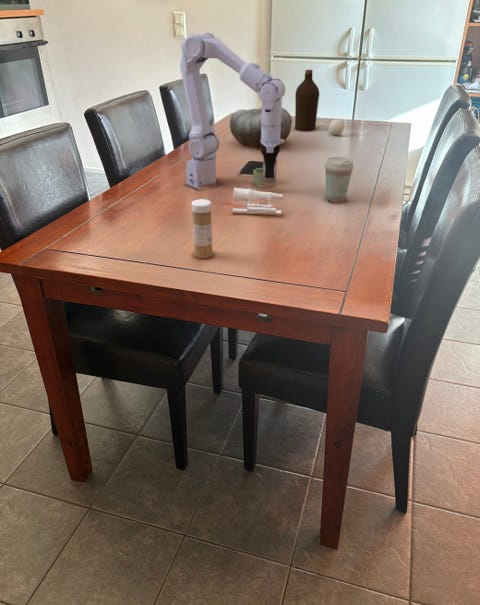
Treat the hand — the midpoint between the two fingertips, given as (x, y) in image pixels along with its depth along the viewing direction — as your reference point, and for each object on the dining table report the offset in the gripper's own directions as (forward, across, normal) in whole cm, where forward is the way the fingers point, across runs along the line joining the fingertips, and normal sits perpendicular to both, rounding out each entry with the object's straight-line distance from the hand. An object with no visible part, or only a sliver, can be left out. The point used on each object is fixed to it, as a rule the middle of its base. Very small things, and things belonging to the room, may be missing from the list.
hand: (269, 170), depth 156 cm
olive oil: (+8, +90, -15) cm, 91 cm away
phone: (+8, +24, +6) cm, 26 cm away
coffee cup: (+8, -4, -20) cm, 22 cm away
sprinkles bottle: (+8, -44, +15) cm, 48 cm away
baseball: (+4, +79, -28) cm, 83 cm away
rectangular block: (+4, 0, 0) cm, 4 cm away
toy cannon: (+8, -16, +3) cm, 18 cm away
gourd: (+8, +60, +5) cm, 61 cm away
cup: (+8, +9, +2) cm, 12 cm away
